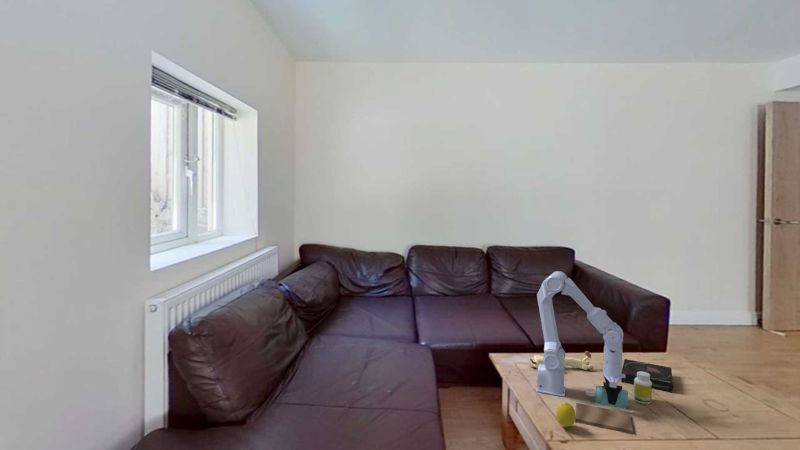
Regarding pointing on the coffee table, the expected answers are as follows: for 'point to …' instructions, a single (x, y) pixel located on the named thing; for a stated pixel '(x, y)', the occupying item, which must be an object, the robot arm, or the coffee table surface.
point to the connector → (602, 399)
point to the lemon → (565, 414)
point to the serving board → (603, 418)
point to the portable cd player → (658, 374)
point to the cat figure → (566, 362)
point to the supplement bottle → (642, 388)
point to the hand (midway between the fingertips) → (611, 398)
